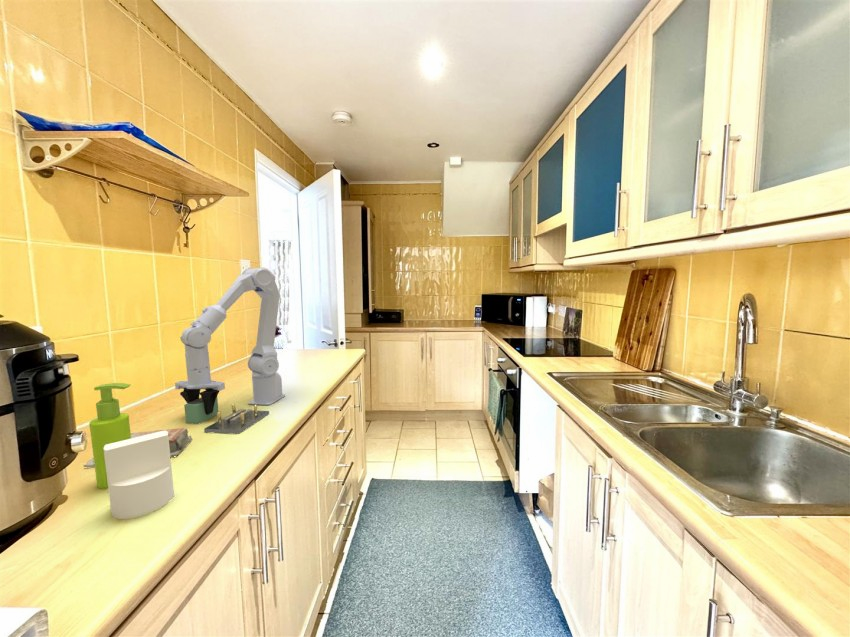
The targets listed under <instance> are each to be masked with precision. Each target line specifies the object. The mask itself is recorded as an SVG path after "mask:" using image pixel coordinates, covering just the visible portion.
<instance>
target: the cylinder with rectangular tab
mask: <svg viewBox="0 0 850 637" xmlns="http://www.w3.org/2000/svg"><path fill="white" fill-rule="evenodd" d="M163 430H164V431H160V432H156V433H152V434H148V435H144V436H140V437H135V438H131V439H127V440H123V441H119V442H115V443H111V444H107V445H105V446H104V456H105V465H106V473H107V481H108V495H109V496H108V497H109V503H110V512H111V516H112V517H113V518H115V519H118V520H129V519H135V518H139V516H140V517H143V516H146V515H148V514H147V513H149V514H151V513H153V511H154V512H156V511H157V509H158V510H159V508H160V509H161V508H163V507H165V506H166V505H167V504H169V503H170V502H171V501H172V500H173V498H174V497H175V488H174V480H173V468H172V458H170V448H169V438H168V432H167V431H165V430H166V429H163ZM171 499H172V500H171ZM170 500H171V501H170ZM169 501H170V502H169ZM168 502H169V503H168ZM165 504H166V505H165ZM164 505H165V506H164ZM162 506H163V507H162ZM155 510H156V511H155ZM150 512H151V513H150ZM145 514H146V515H145ZM142 515H143V516H142Z"/></svg>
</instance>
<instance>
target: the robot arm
mask: <svg viewBox="0 0 850 637" xmlns="http://www.w3.org/2000/svg"><path fill="white" fill-rule="evenodd" d="M250 291H254V292H255V293H256V294H257V295H258V296H259V297H260V298H261V302H260V308H259V310H260V311H259V319H258V326H257V327H258V328H257V335H256V336H257V337H256V343H255V344H256V345H255V346H254V348H253V349H252V350H251V355H250V357H249V359H248V360H247V367H248V369H249V370H250V371H251V372H252V373H251V380H252V394H253V399H252V400H250V401H248V402H247V405H257V406H258V405H261V406H262V405H266V406H270V405H272V404H274V403H275V402H277V401H279V400H281V399H282V398H284V397H285V396H286V394H284V393H283V381H282V376H281V375H280V374H279V372H278V370H279V367H280V365H279V360H278V352H277V350H276V348H275V339H276V338H275V337H276V330H277V322H278V315H279V314H278V312H279V307H280V306H279V305H280V290H279V288H278V286H277V282H276V275H275V274H274V273H273V272H272V271H271V270H270V269H268V268H267V267H259V268H258V267H256V268H246V269H245V270H243V271H242V273H241V274H239V275H238V276H237V277H236V279H235V280H234V281H233V283H232V284H231V285H230V287H229V288H228V289H227V290H226V291H225V293H224V294H223V295H222V297H221V298H220V299H219V300H218V301H217V303H216V304H214V305H213V304H211V305H208V306H207V307H204V308H202V310H201V312H202V313H201V314H200V315H199V316H198V317H197V318H196V320H195V321H191V322H190V325H191V326H189V327H186V328H185V329H184V330H183V331H182V333H181V336H179V337H180V341H181V342H182V344H184V356H185V366H186V367H185V368H186V377H187V378H186V379H187V380H180V381H179V380H178V381H177V382H174V386H175V387H174V388H175V390H183V391H181V392H180V394H179V395H180V397H182V398H183V399H184V400H185V402H186V404H187V403H189V402H192V401H194V400H196V399H199V398H201V397H202V399H203V402H204V408H205V413H206V415H208V414H210V413H212V412H213V408H214V404H215V400H216V397H217V398H218V395H219V393H220V391H223V390H225V389H226V386H225V384H226V383H225V381H217V380H212V378H211V365H210V355H209V345H208V344H210V342H211V341H212V335H213V334H214V332H216V330H217V329H218V328H219V327H220V325H221V324H222V323H223V322H224V321H225V320H226V319H227V311H228V310H229V309H230V308H231V307H232V306H233V305H234V304H235V303H236V302H237V300H239V299H240V297H242V295H243V294H244V293H247V292H250ZM201 390H203V391H201Z"/></svg>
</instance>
